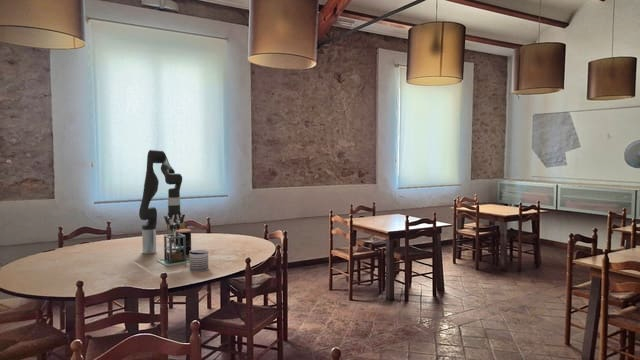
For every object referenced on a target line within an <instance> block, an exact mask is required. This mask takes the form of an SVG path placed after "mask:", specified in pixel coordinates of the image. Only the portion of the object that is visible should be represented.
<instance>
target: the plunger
mask: <svg viewBox="0 0 640 360" xmlns="http://www.w3.org/2000/svg"><path fill="white" fill-rule="evenodd" d="M172 225H173V228H174V237H176V231H175V228H178V225H177V224H176V223H175V224H172ZM173 246H174V247H172V249H176V248H180V247H179V246H176V239H174V241H173Z"/></svg>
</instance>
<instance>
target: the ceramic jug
mask: <svg viewBox="0 0 640 360" xmlns="http://www.w3.org/2000/svg"><path fill="white" fill-rule="evenodd" d="M180 219H181V216H180V217H179V221H180ZM175 223H176V224H177V222H176V220H173V223H172V224H175ZM167 225H168V224H167ZM180 229H188V227H187V224H186V222H185V220H183V223H181V224H180ZM175 230H177V228H175ZM170 234H174V228H173V231H171V230H170V229H169V225H168V226H167V235H170ZM169 237H174V236H169ZM172 241H173V242H174V239H172Z"/></svg>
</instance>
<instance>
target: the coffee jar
mask: <svg viewBox="0 0 640 360" xmlns="http://www.w3.org/2000/svg"><path fill="white" fill-rule="evenodd" d="M175 231H176V234H178V233H180V234H182V235H185V236H186V257H187V256H190V255H189V253H190V252H189V251H191V250H192V232H191V231H192V230H191V229H190V228H187V229H179V230H175ZM177 236H178V235H177ZM177 236H176V237H177ZM176 245H178V238H176ZM180 245H181V246H183V238H180ZM180 248H181V247H180ZM175 251H178V250H175ZM180 251H181V252H183V249H182V250H180Z"/></svg>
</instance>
